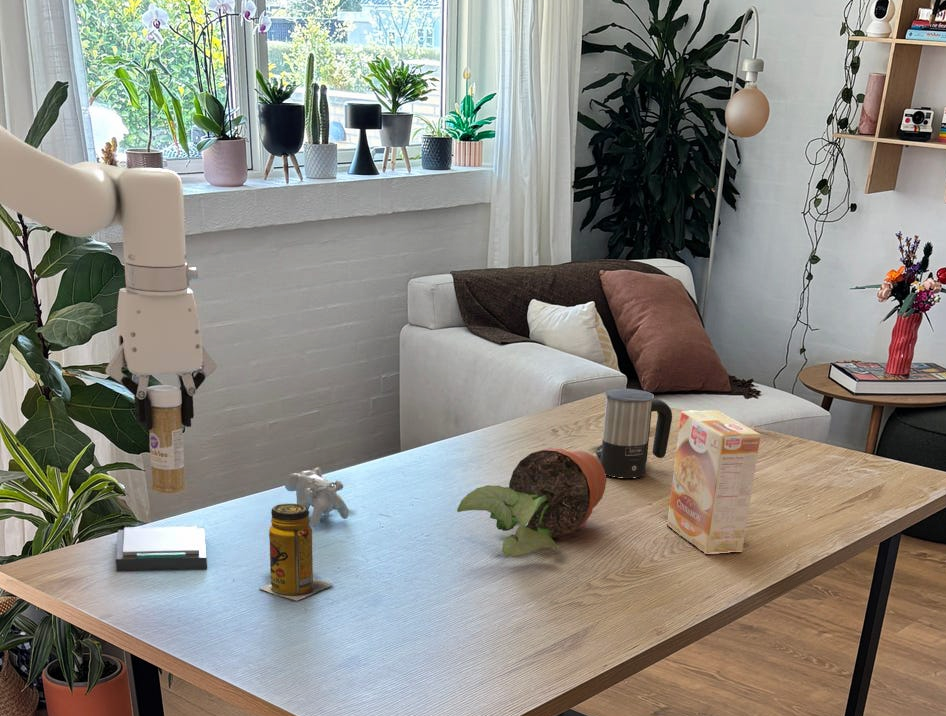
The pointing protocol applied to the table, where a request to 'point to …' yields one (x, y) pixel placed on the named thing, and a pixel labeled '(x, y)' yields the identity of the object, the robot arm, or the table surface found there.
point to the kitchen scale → (160, 548)
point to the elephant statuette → (317, 494)
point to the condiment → (292, 553)
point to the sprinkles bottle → (166, 439)
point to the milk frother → (632, 431)
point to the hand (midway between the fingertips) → (165, 424)
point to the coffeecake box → (713, 480)
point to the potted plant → (542, 498)
